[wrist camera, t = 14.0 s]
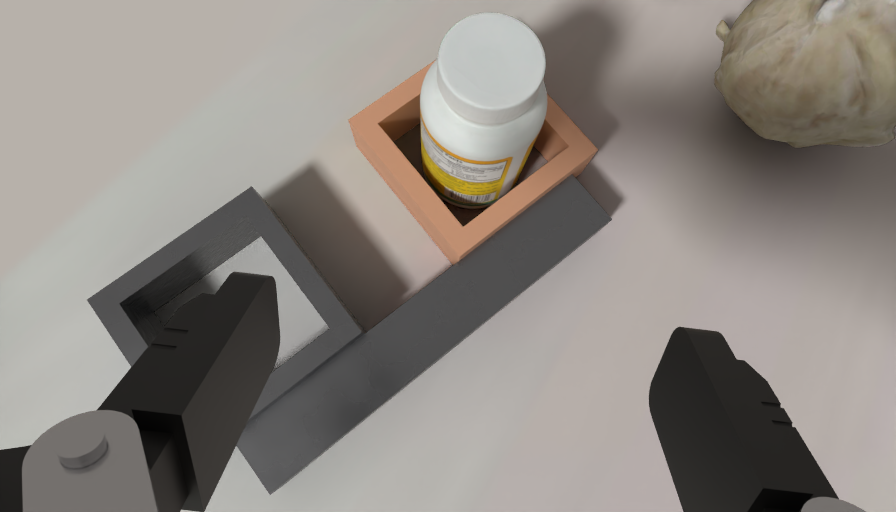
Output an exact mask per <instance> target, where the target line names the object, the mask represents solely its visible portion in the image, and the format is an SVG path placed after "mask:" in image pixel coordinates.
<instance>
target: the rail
mask: <svg viewBox="0 0 896 512" xmlns="http://www.w3.org/2000/svg"><path fill="white" fill-rule="evenodd" d="M611 220H612V219H611V217H610V216H609V215H608V214H607V213H606V212H605V211H604V210H603V208H602V207H601V206H600V205H599V204H598V203H597V202H596V201H595V199H594V198H593V197H592V196H591V195H590V194H589V193H588V192H587V190H586V189H585V188H584V187H583V186H582V185H581V184H580V182H579V181H578V180H577V179H576V178H575V177H574V176H573V175H572V174H571V175H570V176H568V177H567V178H566V179H564V180H563V181H562V182H561V183H559V184H558V185H557V186H555V187H554V188H553V189H551V190H550V191H549V192H548V193H546V194H545V195H544V196H542V197H541V198H540V199H539V200H537V201H536V202H535V203H533V204H532V205H531V206H529V207H528V208H527V209H526V210H524V211H523V212H522V213H520V214H519V215H518V216H517V217H515V218H514V219H513V220H511V221H510V222H509V223H507V224H506V225H505V226H504V227H502V228H501V229H500V230H498V231H497V232H496V233H495V234H493V235H492V236H491V237H489V238H488V239H487V240H486V241H484V242H483V243H482V244H480V245H479V246H478V247H476V248H475V249H474V250H473V251H471V252H470V253H469V254H467V255H466V256H465V257H464V258H462V259H461V260H460V261H458V262H457V263H456V264H454V265H453V266H452V267H451V268H449V269H448V270H447V271H445V272H444V273H443V274H442V275H440V276H439V277H438V278H436V279H435V280H434V281H433V282H431V283H430V284H429V285H427V286H426V287H425V288H423V289H422V290H421V291H420V292H418V293H417V294H416V295H414V296H413V297H412V298H411V299H409V300H408V301H407V302H405V303H404V304H403V305H401V306H400V307H399V308H398V309H396V310H395V311H394V312H392V313H391V314H390V315H389V316H387V317H386V318H385V319H383V320H382V321H381V322H379V323H378V324H377V325H376V326H374V327H373V328H372V329H370V330H369V331H368V332H367V333H366V332H365V331H364V329H363V328H362V327H361V325H360V324H359V323H358V322H357V320H356V319H355V318H354V316H353V315H352V314H351V312H350V311H349V310H348V308H347V307H346V306H345V304H344V303H343V302H342V300H341V299H340V298H339V296H338V295H337V294H336V292H335V291H334V290H333V289H332V287H331V286H330V285H329V283H328V282H327V281H326V279H325V278H324V277H323V275H322V274H321V273H320V271H319V270H318V269H317V267H316V266H315V265H314V263H313V262H312V261H311V259H310V258H309V257H308V256H307V254H306V253H305V252H304V250H303V249H302V248H301V246H300V245H299V244H298V242H297V241H296V240H295V238H294V237H293V236H292V234H291V233H290V232H289V230H288V229H287V228H286V226H285V225H284V224H283V223H282V221H281V220H280V219H279V217H278V216H277V215H276V213H275V212H274V211H273V209H272V208H271V207H270V206H269V205H268V203H267V202H266V201H265V200H264V199H263V198H262V197H261V196H260V195H259V194H258V193H257V192H256V190H255V189H254V188H253V187H250V188H249V189H247V190H246V191H244V192H243V193H241V194H240V195H239V196H237V197H236V198H234V199H233V200H231V201H230V202H228V203H227V204H225V205H224V206H223V207H221V208H220V209H218V210H217V211H215V212H214V213H212V214H211V215H209V216H208V217H207V218H205V219H204V220H202V221H201V222H199V223H198V224H196V225H195V226H193V227H192V228H191V229H189V230H188V231H186V232H185V233H183V234H182V235H180V236H179V237H178V238H176V239H175V240H173V241H172V242H170V243H169V244H167V245H166V246H164V247H163V248H162V249H160V250H159V251H157V252H156V253H154V254H153V255H151V256H150V257H148V258H147V259H146V260H144V261H143V262H141V263H140V264H138V265H137V266H135V267H134V268H132V269H131V270H130V271H128V272H127V273H125V274H124V275H122V276H121V277H119V278H118V279H116V280H115V281H114V282H112V283H111V284H109V285H108V286H106V287H105V288H103V289H102V290H100V291H99V292H98V293H96V294H95V295H93V296H92V297H90V298H89V299H87V301H88V302H89V304H90V305H91V307H92V308H93V310H94V311H95V313H96V314H97V316H98V317H99V319H100V320H101V322H102V323H103V325H104V326H105V328H106V329H107V331H108V332H109V334H110V335H111V337H112V338H113V340H114V341H115V343H116V344H117V346H118V347H119V349H120V350H121V352H122V353H123V355H124V356H125V358H126V359H127V361H128V362H129V364H130V365H131V367H132V366H133V365H134V364H135V362H136V361H137V360H138V359H139V357H140V356H141V355H142V354H143V352H144V351H145V350H146V349H147V347H149V348H150V346H151V342H152V341H153V340H154V339H155V337H156V336H157V335H158V334H159V332H160V331H163V329H164V327H163V325H162V324H161V322H160V321H159V319H158V318H157V317H156V315H155V314H154V311H155V310H157V309H158V308H160V307H161V306H162V305H164V304H165V303H167V302H168V301H170V300H171V299H172V298H174V297H175V296H177V295H178V294H179V293H181V292H182V291H184V290H185V289H186V288H188V287H189V286H191V285H192V284H194V283H195V282H196V281H198V280H199V279H201V278H202V277H203V276H205V275H206V274H208V273H209V272H210V271H212V270H213V269H215V268H216V267H218V266H219V265H220V264H222V263H223V262H225V261H226V260H227V259H229V258H230V257H232V256H233V255H234V254H236V253H237V252H239V251H240V250H242V249H243V248H244V247H246V246H247V245H249V244H250V243H251V242H253V241H254V240H256V239H257V238H258V237H260V236H262V238H263V239H264V240H265V242H266V243H267V244H268V246H269V247H270V248H271V250H272V251H273V252H274V254H275V255H276V257H277V258H278V259H279V261H280V262H281V263H282V265H283V266H284V267H285V269H286V270H287V271H288V273H289V274H290V275H291V277H292V278H293V279H294V281H295V282H296V283H297V285H298V286H299V287H300V289H301V290H302V291H303V293H304V294H305V295H306V297H307V298H308V299H309V301H310V302H311V303H312V305H313V306H314V307H315V309H316V310H317V312H318V313H319V314H320V316H321V317H322V318H323V320H324V321H325V322H326V324H327V325H328V326H329V328H330V329H329V330H327V331H326V332H325V333H323V334H322V335H321V336H319V337H318V338H317V339H315V340H314V341H313V342H311V343H310V344H309V345H307V346H306V347H305V348H304V349H302V350H301V351H300V352H298V353H297V354H296V355H294V356H293V357H292V358H290V359H289V360H288V361H286V362H285V363H284V364H283V365H281V366H280V367H279V368H277V369H276V370H275V371H273V372H272V373H271V374H270V376H269V378H268V380H267V382H266V384H265V386H264V389H263V391H262V393H261V395H260V397H259V399H258V401H257V403H256V405H255V407H254V409H253V411H252V413H251V415H250V418H249V420H248V422H247V424H246V426H245V428H244V430H243V432H242V434H241V436H240V438H239V440H238V442H237V445H236V446H237V447H238V448H239V450H240V451H241V453H242V454H243V456H244V457H245V459H246V460H247V462H248V463H249V465H250V466H251V468H252V469H253V470H254V472H255V473H256V475H257V476H258V478H259V479H260V481H261V482H262V484H263V485H264V487H265V488H266V490H267V491H268V492H269V494H270V495H271V494H272V493H273V492H275V491H276V490H278V489H279V488H280V487H282V486H283V485H284V484H286V483H287V482H288V481H289V480H291V479H292V478H293V477H294V476H296V475H297V474H298V473H299V472H300V471H302V470H303V469H304V468H305V467H307V466H308V465H309V464H310V463H312V462H313V461H314V460H315V459H317V458H318V457H319V456H320V455H322V454H323V453H324V452H325V451H327V450H328V449H329V448H330V447H332V446H333V445H334V444H335V443H336V442H338V441H339V440H340V439H341V438H343V437H344V436H345V435H346V434H348V433H349V432H350V431H351V430H353V429H354V428H355V427H356V426H358V425H359V424H360V423H361V422H363V421H364V420H365V419H366V418H367V417H369V416H370V415H371V414H372V413H374V412H375V411H376V410H377V409H379V408H380V407H381V406H382V405H384V404H385V403H386V402H387V401H389V400H390V399H391V398H392V397H394V396H395V395H396V394H397V393H399V392H400V391H401V390H402V389H403V388H405V387H406V386H407V385H408V384H410V383H411V382H412V381H413V380H415V379H416V378H417V377H418V376H420V375H421V374H422V373H423V372H425V371H426V370H427V369H428V368H430V367H431V366H432V365H433V364H435V363H436V362H437V361H438V360H439V359H441V358H442V357H443V356H444V355H446V354H447V353H448V352H449V351H451V350H452V349H453V348H454V347H456V346H457V345H458V344H459V343H461V342H462V341H463V340H464V339H466V338H467V337H468V336H469V335H470V334H472V333H473V332H474V331H475V330H477V329H478V328H479V327H480V326H482V325H483V324H484V323H485V322H487V321H488V320H489V319H490V318H492V317H493V316H494V315H495V314H497V313H498V312H499V311H500V310H502V309H503V308H504V307H505V306H506V305H508V304H509V303H510V302H511V301H513V300H514V299H515V298H516V297H518V296H519V295H520V294H521V293H523V292H524V291H525V290H526V289H528V288H529V287H530V286H531V285H533V284H534V283H535V282H536V281H537V280H539V279H540V278H541V277H542V276H544V275H545V274H546V273H547V272H549V271H550V270H551V269H552V268H554V267H555V266H556V265H557V264H559V263H560V262H561V261H562V260H564V259H565V258H566V257H567V256H569V255H570V254H571V253H572V252H573V251H575V250H576V249H577V248H578V247H580V246H581V245H582V244H583V243H585V242H586V241H587V240H588V239H590V238H591V237H592V236H593V235H595V234H596V233H597V232H598V231H600V230H601V229H602V228H603V227H604V226H605V225H606V224H607V223H609V222H610V221H611Z"/></svg>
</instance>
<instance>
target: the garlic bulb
mask: <svg viewBox="0 0 896 512" xmlns="http://www.w3.org/2000/svg"><path fill="white" fill-rule="evenodd" d="M716 34H717V36H718V37H719V38H720V39H721V40H722V41H723V42H724V47H723V53H722V59H721V66H720V68H719V69H718V70H717V71H716V72H715V79H714V83H715V86H716V88H717V89H718V90H719V91H720V92H721V93H722V94H723V95H724V99H725V102H726V104H727V105H728V106H729V107H730V108H731V109H732V110H733V111H734V112H735V113H736V114H737V115H738V117H740V118H741V119H742V120H743V121H744V123H745V124H746V125H748V126H749V127H750V128H751V129H752V130H753V131H754V132H755V133H757V134H758V135H759V136H760V137H763V138H765V139H770V140H776V141H781V142H787V143H788V144H789V145H791V146H792V147H794V148H803V147H808V146H814V145H821V144H830V145H841V146H850V147H874V146H881V145H884V144H886V143H889V142H890V141H892V140H893V139H894V138H895V135H894V131H893V130H894V127H895V126H896V0H753V1H752V2H751V3H750V4H749V5H748V6H747V8H746V9H745V10H744V11H743V12H742V14H741V15H740V16H739V17H738V18H737V20H736V21H735V23H734V25H733V27H732V29H731V30H730V29H729V28H728V26H727V24H726V22H725V21H724V20H721V22H720V23H719V24H718V26H717V28H716Z"/></svg>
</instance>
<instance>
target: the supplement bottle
mask: <svg viewBox="0 0 896 512" xmlns="http://www.w3.org/2000/svg"><path fill="white" fill-rule="evenodd" d="M545 68H546V57H545V53H544V49H543V46H542V44H541V42H540V40H539V39H538V37H537V36H536V34H535V33H534V32H533V31H532V30H531V29H530V28H529V27H528V26H527V25H526V24H524V23H523V22H521V21H519V20H518V19H516V18H514V17H511V16H509V15H506V14H501V13H493V12H487V13H478V14H474V15H471V16H468V17H466V18H464V19H462V20H460V21H459V22H457V23H456V24H455V25H454V26H453V27H452V28H451V29H450V30H449V31H448V32H447V33H446V35H445V36H444V38H443V40H442V42H441V45H440V48H439V52H438V58H437V59H436V60H435V61H434V63H433V64H432V65H431V67H430V68H429V70H428V72H427V74H426V76H425V78H424V81H423V84H422V88H421V94H420V119H421V158H422V169H423V173H424V176H425V179H426V181H427V183H428V184H429V186H430V187H431V188H432V190H433V191H434V192H435V193H436V194H437V195H438V196H439V197H440V198H442V199H443V200H445V201H446V202H448V203H450V204H452V205H455V206H458V207H462V208H470V209H476V208H484V207H487V206H490V205H493V204H494V203H495V202H497V201H498V200H499V199H501V198H502V197H503V196H505V195H506V194H507V193H508V192H510V191H511V190H512V189H513V187H514V186H515V184H516V182H517V180H518V178H519V176H520V174H521V172H522V170H523V167H524V165H525V163H526V160H527V158H528V156H529V154H530V152H531V150H532V147H533V145H534V143H535V141H536V139H537V137H538V134H539V132H540V130H541V128H542V125H543V123H544V120H545V116H546V112H547V91H546V87H545V83H544V80H543V78H544V75H545Z"/></svg>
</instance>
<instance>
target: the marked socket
mask: <svg viewBox="0 0 896 512" xmlns="http://www.w3.org/2000/svg"><path fill="white" fill-rule="evenodd" d="M433 63H434V61H433V62H432V63H430V64H429V65H427V66H426V67H425V68H423V69H422V70H420V71H419V72H417V73H416V74H414V75H413V76H411V77H410V78H409V79H407V80H406V81H404V82H403V83H401V84H400V85H398V86H397V87H395V88H394V89H393V90H391V91H390V92H388V93H387V94H385V95H384V96H382V97H381V98H380V99H378V100H377V101H375V102H374V103H372V104H371V105H369V106H368V107H366V108H365V109H364V110H362V111H361V112H359V113H358V114H356V115H355V116H353V117H352V118H350V119H349V123H350V126H351V130H352V133H353V136H354V139H355V142H356V145H357V147H358V148H359V150H360V151H361V152H362V153H363V155H364V156H365V157H366V158H367V160H368V161H369V162H370V163H371V164H372V166H373V167H374V168H375V169H376V171H377V172H378V173H379V174H380V176H381V177H382V178H383V179H384V181H385V182H386V183H387V184H388V185H389V187H390V188H391V189H392V190H393V192H394V193H395V194H396V195H397V197H398V198H399V199H400V200H401V201H402V203H403V204H404V205H405V206H406V208H407V209H408V210H409V211H410V213H411V214H412V215H413V216H414V218H415V219H416V220H417V221H418V222H419V224H420V225H421V226H422V227H423V229H424V230H425V231H426V232H427V234H428V235H429V236H430V237H431V239H432V240H433V241H434V242H435V243H436V245H437V246H438V247H439V248H440V250H441V251H442V252H443V253H444V255H445V256H446V257H447V258H448V260H449V261H450V262H451V263H452V264H453V265H454V264H456V263H457V262H458V261H460V260H461V259H462V258H464V257H465V256H466V255H467V254H469V253H470V252H471V251H473V250H474V249H475V248H476V247H478V246H479V245H480V244H482V243H483V242H484V241H486V240H487V239H488V238H489V237H491V236H492V235H493V234H495V233H496V232H497V231H498V230H500V229H501V228H502V227H504V226H505V225H506V224H507V223H509V222H510V221H511V220H513V219H514V218H515V217H517V216H518V215H519V214H520V213H522V212H523V211H524V210H526V209H527V208H528V207H529V206H531V205H532V204H533V203H535V202H536V201H537V200H539V199H540V198H541V197H542V196H544V195H545V194H546V193H548V192H549V191H550V190H551V189H553V188H554V187H555V186H557V185H558V184H559V183H561V182H562V181H563V180H564V179H566V178H567V177H568V176H570V175H571V174H572V175H573V176H574V177H577V176H578V175H579V174H581V173H582V171H583V170H584V169H585V167H586V166H587V164H588V163H589V162H590V160H591V159H592V158H593V156H594V155H595V153H596V152H597V151H598V149H597V148H596V147H595V146H594V145H593V143H592V142H591V141H590V140H589V139H588V138H587V137H586V136H585V135H584V134H583V132H582V131H581V130H580V129H579V128H578V127H577V126H576V125H575V124H574V122H573V121H572V120H571V119H570V118H569V117H568V116H567V115H566V114H565V113H564V111H563V110H562V109H561V108H560V107H559V106H558V105H557V104H556V103H555V101H554V100H553V99H552V98H551V97H550V96H549V95H548V94H547V112H546V116H545V120H544V123H543V125H542V128H541V130H540V132H539V134H538V137H537V139H536V141H535V143H534V146H535V148H536V149H537V150H538V151H539V152H540V153H541V154H542V156H543V157H544V158H545V159H546V160H547V161H548V163H547V164H545V165H544V166H543V167H541V168H540V169H539V170H537V171H536V172H535V173H533V174H532V175H531V176H529V177H528V178H527V179H526V180H524V181H523V182H522V183H520V184H519V185H518V186H516V187H515V188H514V189H512V190H511V191H510V192H508V193H507V194H506V195H505V196H503V197H502V198H501V199H499V200H498V201H497V202H495V203H494V204H493V205H491V206H490V207H489V208H487V209H486V210H485V211H484V212H482V213H481V214H480V215H478V216H477V217H476V218H474V219H473V220H472V221H470V222H469V223H468V224H466V225H465V226H464V227H463V226H462V225H461V224H460V223H459V221H458V220H457V219H456V218H455V217H454V215H453V214H452V213H451V212H450V211H449V209H448V208H447V207H446V206H445V204H444V203H443V202H442V201H441V200H440V198H439V197H438V196H437V195H436V194H435V192H434V191H433V190H432V189H431V188H430V186H429V185H428V184H427V183H426V181H425V180H424V179H423V178H422V177H421V175H420V174H419V173H418V172H417V171H416V169H415V168H414V167H413V166H412V165H411V163H410V162H409V161H408V160H407V158H406V157H405V156H404V155H403V154H402V152H401V151H400V150H399V149H398V148H397V146H396V145H395V144H394V143H393V142H394V141H395V140H397V139H398V138H400V137H401V136H402V135H404V134H405V133H407V132H408V131H410V130H411V129H412V128H414V127H415V126H417V125H418V124H419V123H421V119H420V94H421V88H422V84H423V81H424V78H425V76H426V74H427V72H428V70H429V68H430V67H431V65H432V64H433Z"/></svg>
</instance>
